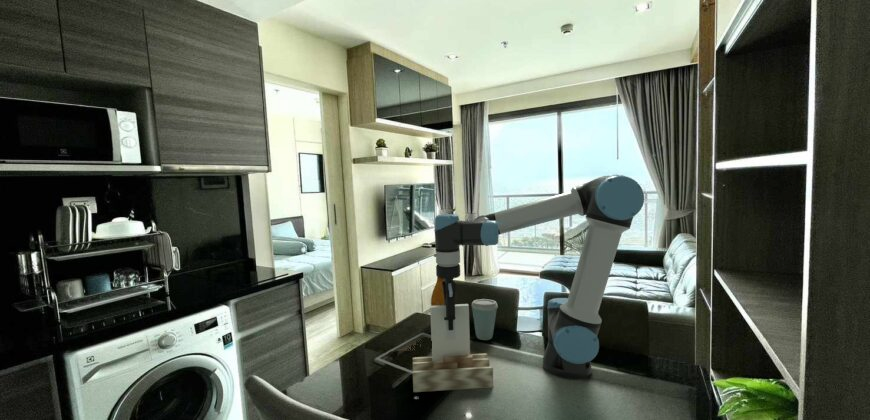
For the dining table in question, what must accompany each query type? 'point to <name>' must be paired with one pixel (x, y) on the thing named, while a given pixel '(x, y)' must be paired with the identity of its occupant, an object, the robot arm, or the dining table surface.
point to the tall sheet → (439, 332)
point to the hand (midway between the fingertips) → (450, 337)
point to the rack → (451, 375)
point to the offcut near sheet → (460, 360)
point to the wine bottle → (437, 293)
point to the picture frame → (401, 348)
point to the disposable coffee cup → (484, 317)
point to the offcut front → (445, 365)
